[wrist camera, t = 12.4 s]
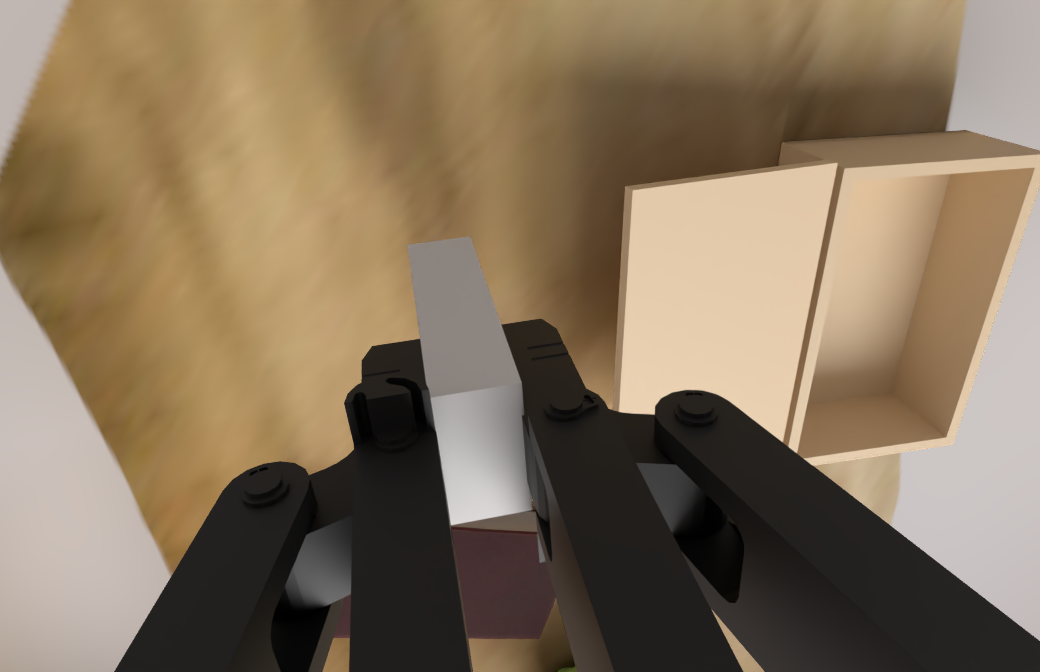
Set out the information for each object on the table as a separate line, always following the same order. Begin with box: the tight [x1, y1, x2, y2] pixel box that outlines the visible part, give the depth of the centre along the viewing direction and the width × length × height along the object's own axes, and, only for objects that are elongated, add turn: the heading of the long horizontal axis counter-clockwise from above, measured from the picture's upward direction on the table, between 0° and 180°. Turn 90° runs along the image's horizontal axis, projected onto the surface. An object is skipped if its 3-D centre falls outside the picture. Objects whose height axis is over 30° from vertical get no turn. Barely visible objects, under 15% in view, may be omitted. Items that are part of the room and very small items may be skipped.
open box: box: [778, 130, 1040, 466], centre depth 50 cm, size 22×14×7 cm, turn 1°
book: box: [333, 510, 556, 639], centre depth 57 cm, size 12×19×3 cm, turn 76°
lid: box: [612, 160, 838, 442], centre depth 44 cm, size 23×13×1 cm, turn 1°
